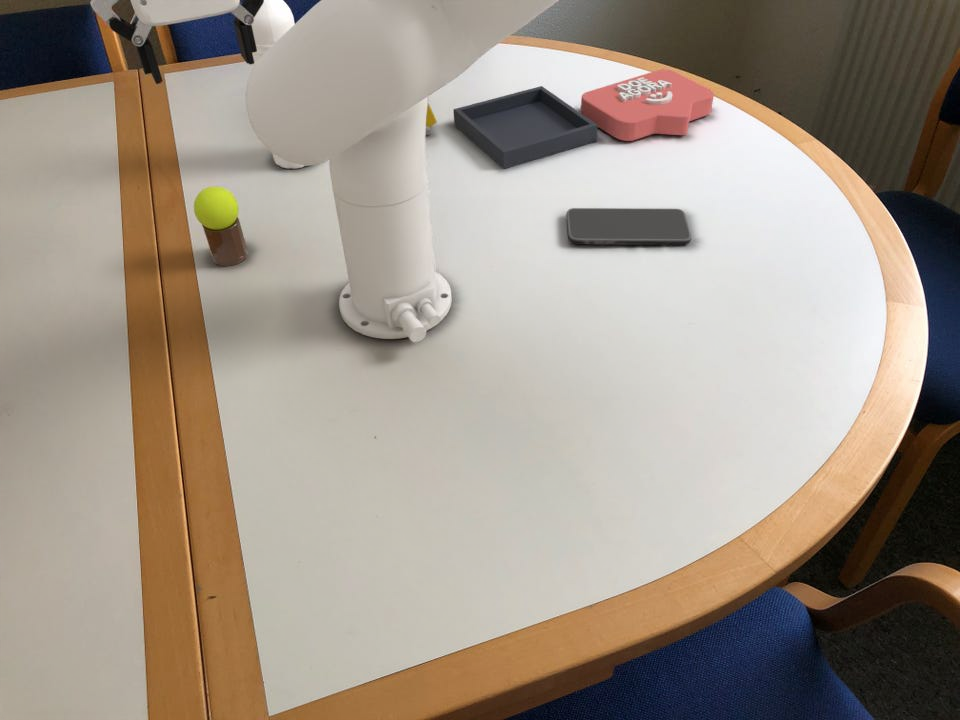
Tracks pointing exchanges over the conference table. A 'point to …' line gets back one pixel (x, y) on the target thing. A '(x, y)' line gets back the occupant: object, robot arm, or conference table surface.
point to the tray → (524, 126)
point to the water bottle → (272, 40)
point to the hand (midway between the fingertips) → (203, 69)
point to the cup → (227, 244)
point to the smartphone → (627, 226)
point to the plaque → (647, 105)
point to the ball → (216, 208)
